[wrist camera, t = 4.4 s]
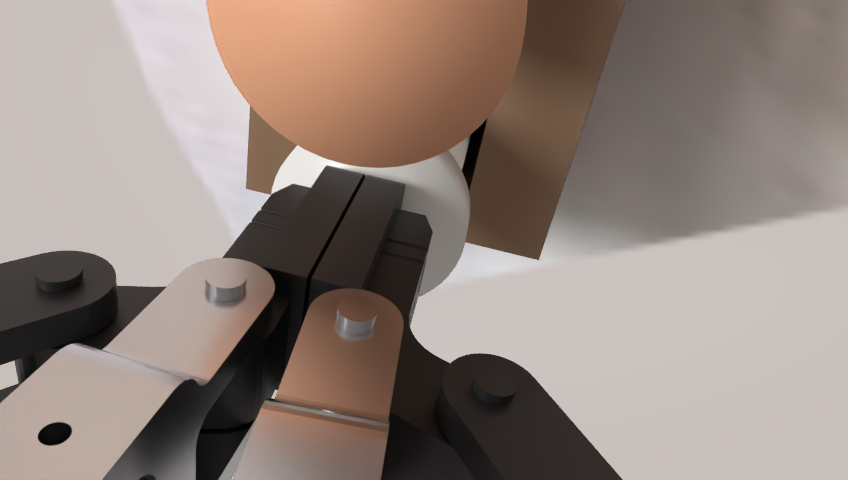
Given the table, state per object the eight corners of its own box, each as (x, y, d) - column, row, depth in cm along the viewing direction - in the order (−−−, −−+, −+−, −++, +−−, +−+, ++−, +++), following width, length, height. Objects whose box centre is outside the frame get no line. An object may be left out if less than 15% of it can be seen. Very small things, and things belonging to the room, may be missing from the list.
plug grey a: (510, 35, 19) (487, 156, 12) (480, 154, 21) (444, 322, 14) (381, 5, 19) (277, 105, 12) (364, 126, 21) (264, 278, 14)
